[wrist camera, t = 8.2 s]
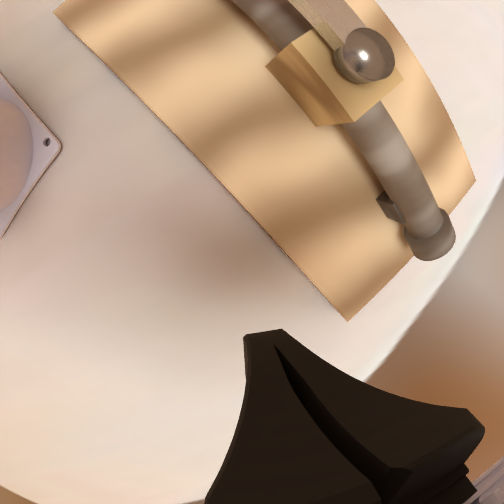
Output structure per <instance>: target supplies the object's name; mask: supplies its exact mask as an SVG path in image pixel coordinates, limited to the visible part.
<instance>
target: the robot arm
mask: <svg viewBox="0 0 504 504" xmlns="http://www.w3.org/2000/svg"><path fill="white" fill-rule="evenodd" d="M48 138H50V140H51V142H50V145H49V146H47V145H46V140H47V139H48ZM60 150H61V143H60V142H59V140H58V139H57V138H56V137H55V136H54V135H53V134H52V133H51V131H50V130H49V129H48V128H47V127H46V126H45V125H44V124H43V122H42V121H41V120H40V119H39V118H38V117H37V116H36V115H35V113H34V112H33V111H32V110H31V109H30V108H29V106H28V105H27V104H26V103H25V102H24V101H23V99H22V98H21V97H20V96H19V95H18V94H17V92H16V91H15V90H14V89H13V88H12V86H11V85H10V84H9V83H8V81H7V80H6V79H5V78H4V77H3V75H2V74H1V73H0V239H1V238H2V236H3V234H4V233H5V231H6V229H7V228H8V226H9V224H10V222H11V221H12V219H13V218H14V216H15V214H16V213H17V211H18V209H19V208H20V206H21V205H22V203H23V202H24V200H25V199H26V197H27V196H28V194H29V193H30V191H31V190H32V188H33V187H34V185H35V184H36V183H37V181H38V180H39V178H40V177H41V176H42V174H43V173H44V172H45V170H46V169H47V168H48V166H49V165H50V164H51V162H52V161H53V160H54V158H55V157H56V156H57V155H58V153H59V152H60ZM243 342H244V358H245V374H246V386H245V393H244V399H243V404H242V408H241V412H240V416H239V420H238V423H237V427H236V430H235V433H234V436H233V439H232V442H231V445H230V447H229V450H228V452H227V454H226V457H225V459H224V462H223V464H222V466H221V469H220V471H219V473H218V475H217V477H216V478H215V480H214V482H213V484H212V486H211V488H210V490H209V492H208V493H207V495H206V497H205V503H204V504H504V456H503V457H502V458H501V459H500V460H499V461H497V462H496V463H495V464H494V465H493V466H492V467H491V468H490V469H488V470H487V471H486V472H484V473H483V474H482V475H481V476H480V477H478V478H477V479H476V480H475V481H473V482H472V483H471V482H470V480H469V479H468V478H467V477H466V474H467V473H468V472H469V469H468V468H467V467H466V465H465V464H464V463H465V461H466V460H467V459H468V458H469V456H470V455H471V454H472V452H473V451H474V450H475V449H476V447H477V446H478V444H479V443H480V441H481V440H482V438H483V436H484V433H485V427H484V426H483V425H482V424H481V423H480V422H479V421H478V420H477V419H476V418H475V417H474V416H473V415H472V414H471V413H470V412H469V410H467V409H465V408H455V407H447V406H438V405H433V404H427V403H423V402H419V401H414V400H410V399H407V398H403V397H400V396H397V395H394V394H391V393H388V392H385V391H383V390H380V389H377V388H375V387H373V386H370V385H368V384H366V383H364V382H362V381H360V380H357V379H355V378H353V377H351V376H350V375H348V374H346V373H344V372H342V371H341V370H339V369H337V368H336V367H334V366H332V365H331V364H329V363H328V362H326V361H324V360H323V359H321V358H320V357H319V356H317V355H316V354H314V353H313V352H311V351H310V350H309V349H307V348H306V347H305V346H303V345H302V344H301V343H299V342H298V341H297V340H296V339H294V338H293V337H292V336H290V335H289V334H288V333H287V332H285V331H284V330H283V329H278V330H271V331H265V332H259V333H252V334H246V335H245V336H244V337H243Z"/></svg>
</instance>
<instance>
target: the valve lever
mask: <svg viewBox="0 0 504 504" xmlns="http://www.w3.org/2000/svg"><path fill="white" fill-rule="evenodd" d="M288 1H289V2H290V3H291V4H292V5H293V6H294V7H295V8H296V9H297V10H298V11H299V12H300V13H301V14H302V15H303V16H304V17H305V18H306V19H307V20H308V22H309V23H310V24H311V25H312V26H313V27H314V28H315V29H316V30H317V31H318V33H319V34H320V35H321V36H322V37H323V38H324V39H325V41H326V42H327V43H328V44H329V45H330V46H331V48H332V49H333V58H334V62H335V64H336V66H337V68H338V70H339V71H340V72H341V73H342V75H344V76H345V77H346V78H347V79H349V80H350V81H352V82H355V83H358V84H367V83H370V82H374V81H378V80H382V79H385V78H387V77H389V76H390V75H391V73H392V72H393V70H394V66H395V57H394V53H393V50H392V48H391V46H390V44H389V43H388V41H387V40H386V39H385V38H384V37H383V36H382V35H381V34H380V33H378V32H377V31H375V30H373V29H370V28H367V26H366V25H365V24H364V23H363V21H362V20H361V19H360V18H359V17H358V15H357V14H356V13H355V12H354V11H353V10H352V9H351V7H350V6H349V5H348V4H347V3H346V2H345V1H344V0H288Z"/></svg>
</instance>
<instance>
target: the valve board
mask: <svg viewBox="0 0 504 504" xmlns="http://www.w3.org/2000/svg"><path fill="white" fill-rule="evenodd" d="M344 1H345V2H346V3H347V4H348V5H349V6H350V7H351V9H352V10H353V11H354V12H355V13H356V14H357V15H358V17H359V18H360V19H361V20H362V21H363V23H364V24H365V25H366V26H367V28H370V29H373V30H375V31H377V32H378V33H380V34H381V35H382V36H383V37H384V38H385V39H386V40H387V41H388V43H389V44H390V46H391V48H392V50H393V53H394V57H395V66H394V70H393V72H392V73H391V75H390V76H389V77H387V78H385V79H382V80H378V81H374V82H370V83H367V84H358V83H355V82H352V81H350V80H349V79H347V78H346V77H345V76H344V75H342V73H341V72H340V71H339V70H338V68H337V66H336V64H335V62H334V58H333V49H332V48H331V46H330V45H329V44H328V43H327V42H326V41H325V39H324V38H323V37H322V36H321V35H320V34H319V33H318V31H317V30H316V29H315V28H314V27H313V26H312V25H311V24H310V23H309V22H308V20H307V19H306V18H305V17H304V16H303V15H302V14H301V13H300V12H299V11H298V10H297V9H296V8H295V7H294V6H293V5H292V4H291V3H290V2H289V1H288V0H66V1H65V2H64V3H63V4H62V5H60V6H59V7H58V8H57V9H56V10H55V11H54V12H53V13H54V14H55V15H56V16H57V17H58V18H59V19H60V20H61V21H62V22H63V23H64V24H65V25H66V26H67V27H68V28H69V29H70V30H71V31H72V32H73V33H74V34H75V35H76V36H77V37H79V38H80V39H81V40H82V41H83V42H84V43H85V44H86V45H87V46H88V47H89V48H90V49H91V50H92V51H93V52H94V53H95V54H96V55H97V56H98V57H99V58H100V59H101V60H102V61H103V62H104V63H105V64H106V65H107V66H108V67H109V68H110V69H111V70H112V71H113V72H114V73H115V74H116V75H117V76H118V77H119V78H120V79H121V80H122V81H123V82H124V83H125V84H126V85H127V86H128V87H129V88H130V89H131V90H132V91H133V92H134V93H135V94H136V95H137V96H138V97H139V98H140V99H141V100H142V101H143V102H144V103H145V104H146V105H147V106H148V107H149V108H150V109H151V110H152V111H153V112H154V113H155V114H156V115H157V116H158V117H159V118H160V119H161V120H162V121H163V122H164V123H165V124H166V125H167V126H168V128H169V129H170V130H171V131H172V132H173V133H174V134H175V135H176V136H177V137H178V138H179V139H180V140H181V141H182V142H183V143H184V144H185V145H186V146H187V147H188V148H189V149H190V150H191V151H192V152H193V154H194V155H195V156H196V157H197V158H198V159H199V160H200V161H201V162H202V163H203V164H204V165H205V166H206V167H207V168H208V169H209V170H210V171H211V173H212V174H213V175H214V176H215V177H216V178H217V179H218V180H219V181H220V182H221V183H222V184H223V185H224V186H225V187H226V188H227V190H228V191H229V192H230V193H231V194H232V195H233V196H234V197H235V198H236V199H237V200H238V201H239V202H240V204H241V205H242V206H243V207H244V208H245V209H246V210H247V211H248V212H249V213H250V214H251V215H252V216H253V218H254V219H255V220H256V221H257V222H258V223H259V224H260V225H261V226H262V227H263V228H264V230H265V231H266V232H267V233H268V234H269V235H270V236H271V237H272V238H273V239H274V241H275V242H276V243H277V244H278V245H279V246H280V247H281V248H282V249H283V250H284V252H285V253H286V254H287V255H288V256H289V257H290V258H291V259H292V260H293V261H294V263H295V264H296V265H297V266H298V267H299V268H300V269H301V270H302V272H303V273H304V274H305V275H306V276H307V277H308V278H309V279H310V280H311V282H312V283H313V284H314V285H315V286H316V287H317V288H318V289H319V291H320V292H321V293H322V294H323V295H324V296H325V297H326V299H327V300H328V301H329V302H330V303H331V304H332V305H333V306H334V308H335V309H336V310H337V311H338V312H339V313H340V314H341V315H342V316H343V318H344V319H345V320H346V321H347V322H348V321H349V320H350V319H351V318H352V317H353V316H354V315H355V314H357V313H358V312H359V311H360V310H361V309H362V308H363V307H364V306H365V305H366V304H367V303H368V302H369V301H370V300H371V299H372V298H373V297H374V296H375V295H376V294H377V293H378V292H379V291H380V290H381V289H382V288H383V287H384V286H385V285H386V284H387V283H388V282H389V281H390V280H391V279H392V278H393V277H394V276H395V275H396V274H397V273H398V272H399V271H400V270H401V269H402V268H403V267H404V266H405V264H406V263H407V262H408V261H409V260H410V259H411V258H412V257H413V256H415V257H416V258H418V259H420V260H423V261H432V260H436V259H438V258H440V257H442V256H444V255H445V254H447V253H448V252H449V251H450V250H451V248H452V247H453V245H454V243H455V238H456V235H455V231H454V229H453V226H452V224H451V221H450V218H449V214H450V213H451V212H452V211H453V209H454V208H455V207H456V206H457V205H458V203H459V202H460V201H461V199H462V198H463V197H464V196H465V194H466V193H467V192H468V190H469V189H470V188H471V187H472V185H473V184H474V183H475V181H476V179H475V176H474V174H473V171H472V168H471V166H470V163H469V160H468V158H467V155H466V153H465V150H464V148H463V146H462V143H461V141H460V139H459V136H458V134H457V132H456V130H455V128H454V125H453V123H452V121H451V119H450V117H449V115H448V113H447V111H446V109H445V107H444V105H443V103H442V101H441V99H440V97H439V96H438V94H437V92H436V90H435V88H434V86H433V85H432V83H431V81H430V79H429V78H428V76H427V74H426V73H425V71H424V69H423V68H422V66H421V64H420V63H419V61H418V60H417V58H416V56H415V55H414V53H413V52H412V50H411V49H410V47H409V46H408V44H407V43H406V41H405V40H404V39H403V37H402V36H401V34H400V33H399V31H398V30H397V29H396V27H395V26H394V25H393V23H392V22H391V21H390V19H389V18H388V17H387V15H386V14H385V13H384V12H383V10H382V9H381V8H380V7H379V5H378V4H377V3H376V2H375V1H374V0H344Z"/></svg>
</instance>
